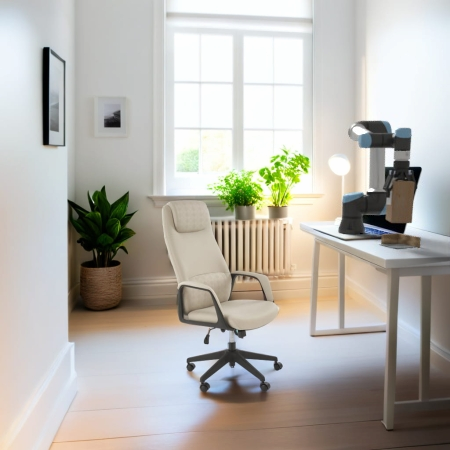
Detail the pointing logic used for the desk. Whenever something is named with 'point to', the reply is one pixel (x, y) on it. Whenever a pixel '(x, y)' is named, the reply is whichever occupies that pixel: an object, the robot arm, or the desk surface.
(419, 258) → the desk surface
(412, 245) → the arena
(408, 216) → the wooden block
